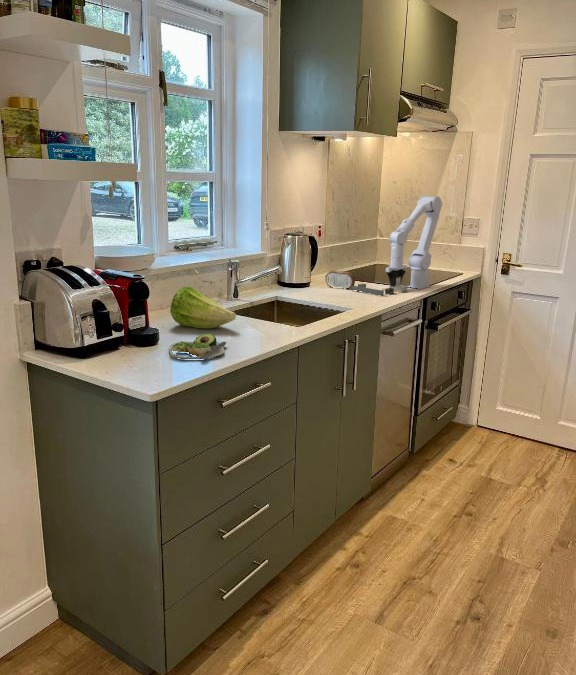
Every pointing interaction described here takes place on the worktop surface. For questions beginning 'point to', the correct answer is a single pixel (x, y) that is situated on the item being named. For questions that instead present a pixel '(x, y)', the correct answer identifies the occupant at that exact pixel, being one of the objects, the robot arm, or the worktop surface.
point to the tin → (340, 279)
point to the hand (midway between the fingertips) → (395, 285)
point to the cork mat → (394, 290)
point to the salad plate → (199, 347)
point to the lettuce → (198, 310)
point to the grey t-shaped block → (398, 286)
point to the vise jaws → (372, 290)
